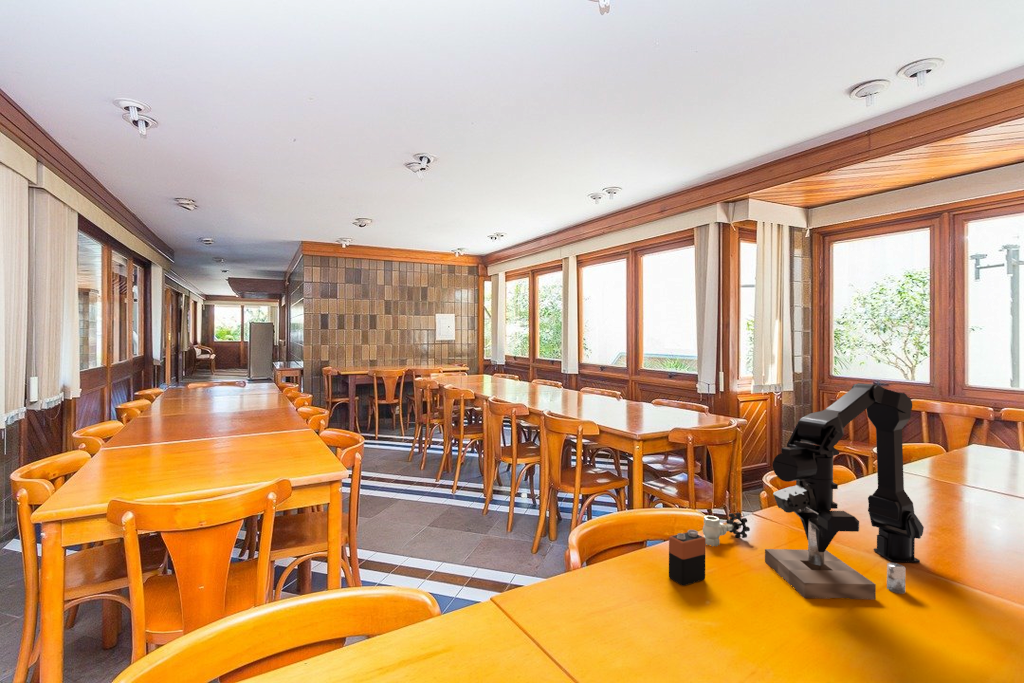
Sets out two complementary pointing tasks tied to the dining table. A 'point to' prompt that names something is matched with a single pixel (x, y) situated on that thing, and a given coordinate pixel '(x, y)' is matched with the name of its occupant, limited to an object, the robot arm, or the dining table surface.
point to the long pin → (814, 546)
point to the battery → (687, 557)
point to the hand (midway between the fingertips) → (816, 548)
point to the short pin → (896, 578)
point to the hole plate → (819, 575)
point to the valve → (723, 528)
